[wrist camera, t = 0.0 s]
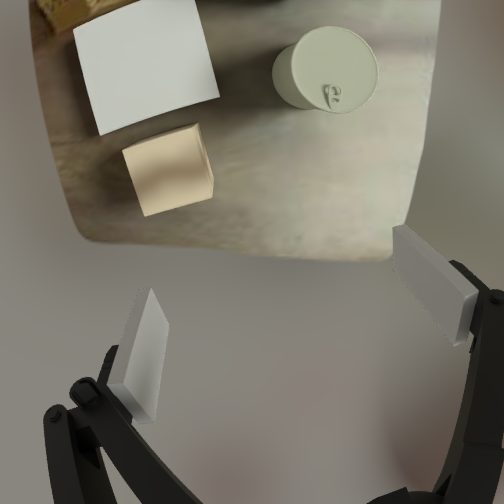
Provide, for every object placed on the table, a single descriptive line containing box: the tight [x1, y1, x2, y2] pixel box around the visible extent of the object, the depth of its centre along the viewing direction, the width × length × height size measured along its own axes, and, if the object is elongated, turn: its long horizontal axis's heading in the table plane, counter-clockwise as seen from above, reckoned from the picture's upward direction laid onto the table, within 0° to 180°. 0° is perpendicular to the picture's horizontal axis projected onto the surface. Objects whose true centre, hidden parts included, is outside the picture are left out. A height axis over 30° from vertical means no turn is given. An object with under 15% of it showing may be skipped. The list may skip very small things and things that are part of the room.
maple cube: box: [122, 123, 214, 216], centre depth 37 cm, size 8×8×8 cm
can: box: [272, 26, 379, 113], centre depth 31 cm, size 9×9×12 cm
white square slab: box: [73, 0, 220, 136], centre depth 32 cm, size 15×15×4 cm
